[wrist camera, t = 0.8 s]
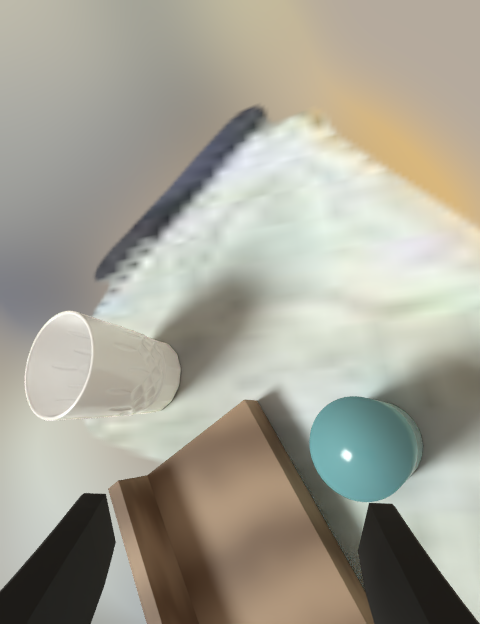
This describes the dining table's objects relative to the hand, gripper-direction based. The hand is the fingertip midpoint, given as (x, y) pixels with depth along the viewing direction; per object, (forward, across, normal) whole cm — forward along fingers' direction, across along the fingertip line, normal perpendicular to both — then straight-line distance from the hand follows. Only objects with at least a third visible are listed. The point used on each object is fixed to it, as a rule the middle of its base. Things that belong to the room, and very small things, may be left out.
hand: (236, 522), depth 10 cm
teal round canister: (+11, -9, +8) cm, 16 cm away
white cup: (+22, +8, +11) cm, 26 cm away
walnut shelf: (+9, -1, +17) cm, 19 cm away
